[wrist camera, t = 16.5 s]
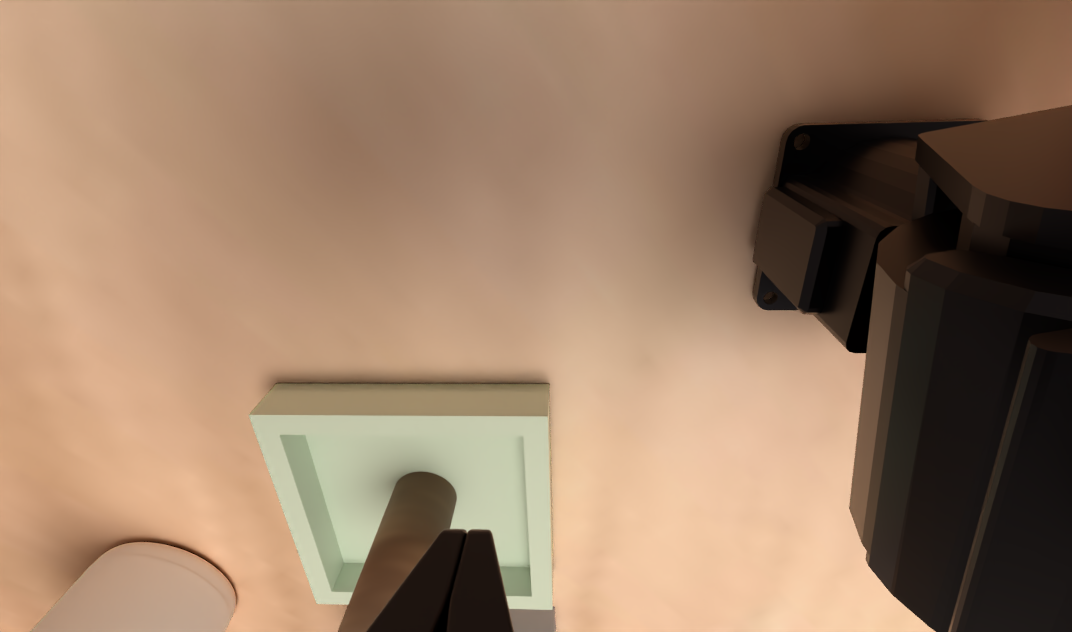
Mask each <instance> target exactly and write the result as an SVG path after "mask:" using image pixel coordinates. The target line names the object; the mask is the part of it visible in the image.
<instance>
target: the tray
mask: <svg viewBox="0 0 1072 632" xmlns="http://www.w3.org/2000/svg"><path fill="white" fill-rule="evenodd" d="M249 418H250V420H251V423H252V426H253V429H254V432H255V434H256V437H257V440H258V443H259V445H260V448H261V451H262V454H263V456H264V459H265V462H266V465H267V468H268V470H269V473H270V476H271V479H272V481H273V484H274V487H275V490H276V492H277V495H278V498H279V501H280V504H281V506H282V509H283V512H284V515H285V517H286V520H287V523H288V526H289V529H290V531H291V534H292V537H293V540H294V542H295V545H296V548H297V551H298V553H299V556H300V559H301V562H302V565H303V567H304V570H305V573H306V576H307V578H308V581H309V584H310V587H311V589H312V592H313V595H314V598H315V601H316V603H317V604H341V605H348V604H349V602H350V599H351V597H352V594H353V592H354V589H355V587H356V584H357V581H358V579H359V576H360V574H361V571H362V569H363V566H364V564H365V561H366V559H367V556H368V553H369V551H370V548H371V546H372V543H373V541H374V538H375V536H376V533H377V531H378V528H379V525H380V523H381V520H382V518H383V515H384V513H385V510H386V508H387V505H388V503H389V500H390V497H391V495H392V492H393V490H394V487H395V485H396V483H397V481H398V480H399V479H400V478H401V477H403V476H404V475H406V474H409V473H412V472H420V471H422V472H430V473H434V474H437V475H439V476H441V477H443V478H445V479H446V480H447V481H448V482H450V483H451V485H452V486H453V487H454V489H455V491H456V495H457V501H456V505H455V510H454V514H453V518H452V522H451V526H450V529H465V530H466V531H467V532H468V531H469V530H471V529H488V530H490V531H491V532H492V534H493V539H494V543H495V548H496V552H497V557H498V561H499V566H500V570H501V575H502V579H503V584H504V588H505V593H506V597H507V602H508V606H509V609H534V610H553V535H552V488H551V441H550V394H549V384H325V383H276V384H275V385H274V387H273V388H272V389H271V390H270V391H269V392H268V393H267V394H266V396H265V397H264V398H263V399H262V400H261V401H260V402H259V404H258V405H257V406H256V407H255V408H254V409H253V410H252V412H251V413H250V414H249Z"/></svg>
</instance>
